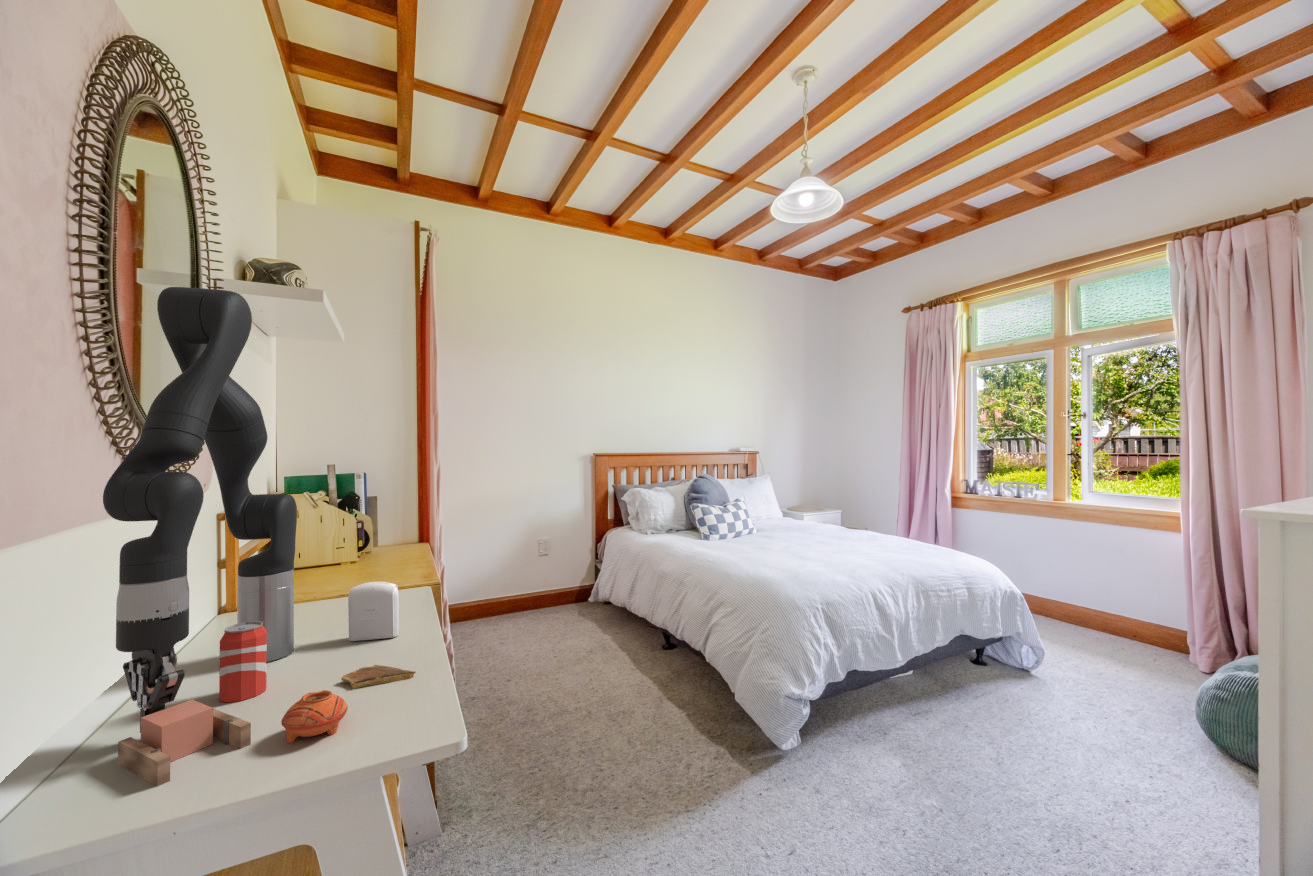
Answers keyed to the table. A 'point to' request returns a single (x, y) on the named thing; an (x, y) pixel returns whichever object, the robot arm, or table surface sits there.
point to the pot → (314, 715)
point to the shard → (375, 676)
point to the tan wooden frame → (157, 764)
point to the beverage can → (243, 662)
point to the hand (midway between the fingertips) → (152, 732)
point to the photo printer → (373, 611)
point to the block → (179, 729)
